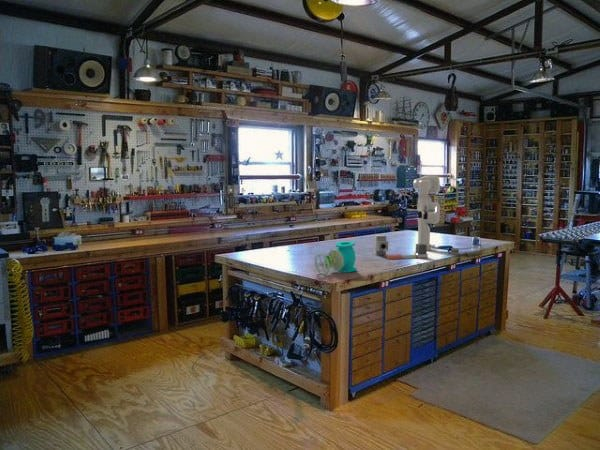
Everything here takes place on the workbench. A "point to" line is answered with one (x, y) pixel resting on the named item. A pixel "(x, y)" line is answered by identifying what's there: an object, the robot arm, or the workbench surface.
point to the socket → (421, 248)
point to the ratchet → (406, 256)
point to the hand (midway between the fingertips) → (422, 218)
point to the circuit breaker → (380, 245)
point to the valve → (339, 258)
